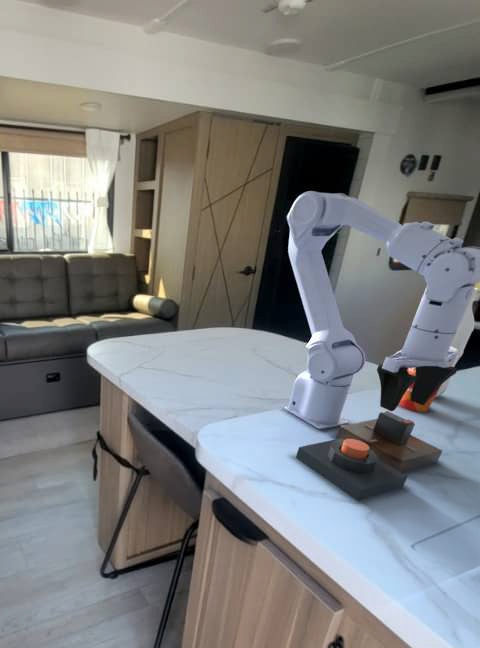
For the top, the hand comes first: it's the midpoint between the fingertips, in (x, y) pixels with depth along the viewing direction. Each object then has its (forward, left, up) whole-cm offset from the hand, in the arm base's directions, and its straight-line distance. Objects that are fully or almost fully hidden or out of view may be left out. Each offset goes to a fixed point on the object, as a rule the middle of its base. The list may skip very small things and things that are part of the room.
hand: (402, 405), depth 70 cm
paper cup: (-11, +24, -9) cm, 28 cm away
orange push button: (+3, -13, -5) cm, 14 cm away
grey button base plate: (+3, -13, -9) cm, 16 cm away
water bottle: (-15, +34, -9) cm, 38 cm away
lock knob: (0, 0, -6) cm, 6 cm away
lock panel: (0, 0, -9) cm, 9 cm away
